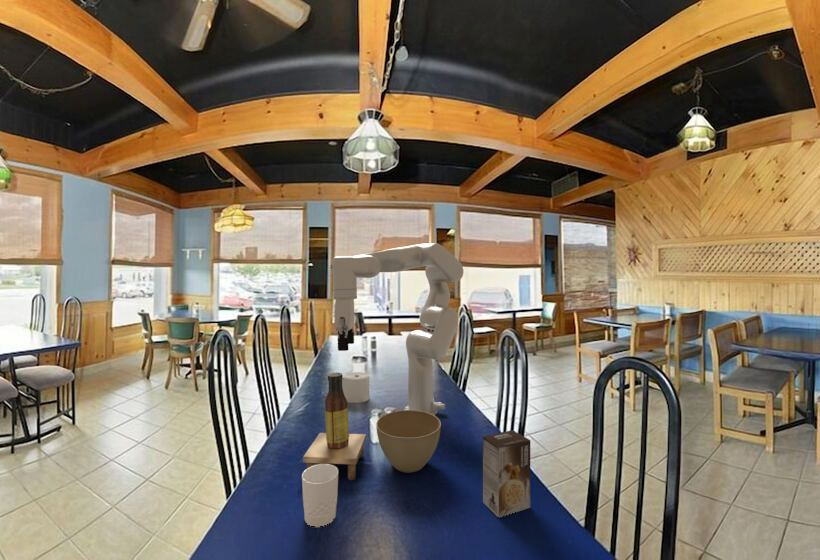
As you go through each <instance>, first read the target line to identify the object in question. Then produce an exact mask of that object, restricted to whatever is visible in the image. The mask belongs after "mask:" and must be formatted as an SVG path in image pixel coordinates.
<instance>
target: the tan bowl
mask: <svg viewBox="0 0 820 560" xmlns="http://www.w3.org/2000/svg"><path fill="white" fill-rule="evenodd" d="M375 423H376V424H375V425H376V433H377V439H378V442H379V445H380V447H381V450H382V452H383V454H384V456H385V457H386V459H387V460H388V462H389V464H391V465H392V467H394V468H395V470H396V471H399V472H402V473H409V474H411V473H415V472H418V471H421V469H423V467H425V465H427V463H428V462H429V461H430V459H431V458H432V456H433V455H434V453H435V451H436V448H437V446H438V444H439V440H440V435H441V427H442V423H441V420H440V418H438V416H436V415H432V414H430V413H427V412H423V411H417V410H404V409H401V410H395V411H392V412H388V413H386V414H384V415H381V416H380V417H379V418H378V419H377V421H376V422H375Z"/></svg>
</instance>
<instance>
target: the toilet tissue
mask: <svg viewBox="0 0 820 560" xmlns="http://www.w3.org/2000/svg"><path fill="white" fill-rule="evenodd" d="M342 387H343V392H344V395H345V397H346V400H347V404H348V403H349V404H361V403H365V402H368V401H369V400H370V374H369V373H367V372H362V371H360V372H359V371H354V372H350V373H345V375H344V376H343V379H342Z"/></svg>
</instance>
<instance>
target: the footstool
mask: <svg viewBox="0 0 820 560" xmlns="http://www.w3.org/2000/svg"><path fill="white" fill-rule="evenodd" d="M366 440H367V434H365V433H364V434H363V433H349V443H348V444H347V445H346V446H345V447H343V448H339V449H333V448H330V447H328V445H327V441H326V432H319V433H318V435H317V436H316V438H315V439H314V441H313V442H312V443H311V444H310V446H309V448H308V449H307V451H305V453H304V455H303V457H302V458H303V459H302V463H306V469H307V468H309V467H311V466H314V465H316V464H331V465H334V464H335V465H336V464H337V465H347V480H349V481H353V480H355V479H356V478H357V477H356V468H357V467H356V465H357V463H358V461H359V459H363V458H364V457H365V456H364V449H365V448H364V446H365V443H366Z"/></svg>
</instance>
